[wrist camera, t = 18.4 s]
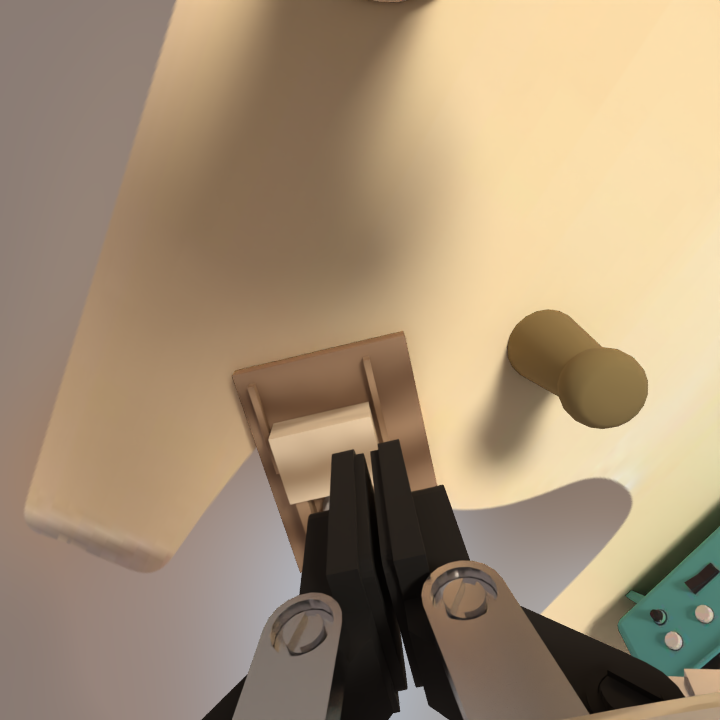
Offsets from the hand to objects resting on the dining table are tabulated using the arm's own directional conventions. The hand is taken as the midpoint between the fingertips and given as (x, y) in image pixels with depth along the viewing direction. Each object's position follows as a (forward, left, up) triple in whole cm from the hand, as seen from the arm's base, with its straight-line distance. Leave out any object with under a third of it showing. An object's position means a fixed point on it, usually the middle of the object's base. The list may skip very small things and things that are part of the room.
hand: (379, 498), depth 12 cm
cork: (+8, +14, -27) cm, 32 cm away
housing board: (+14, -4, -27) cm, 31 cm away
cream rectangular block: (+12, -5, -26) cm, 29 cm away
